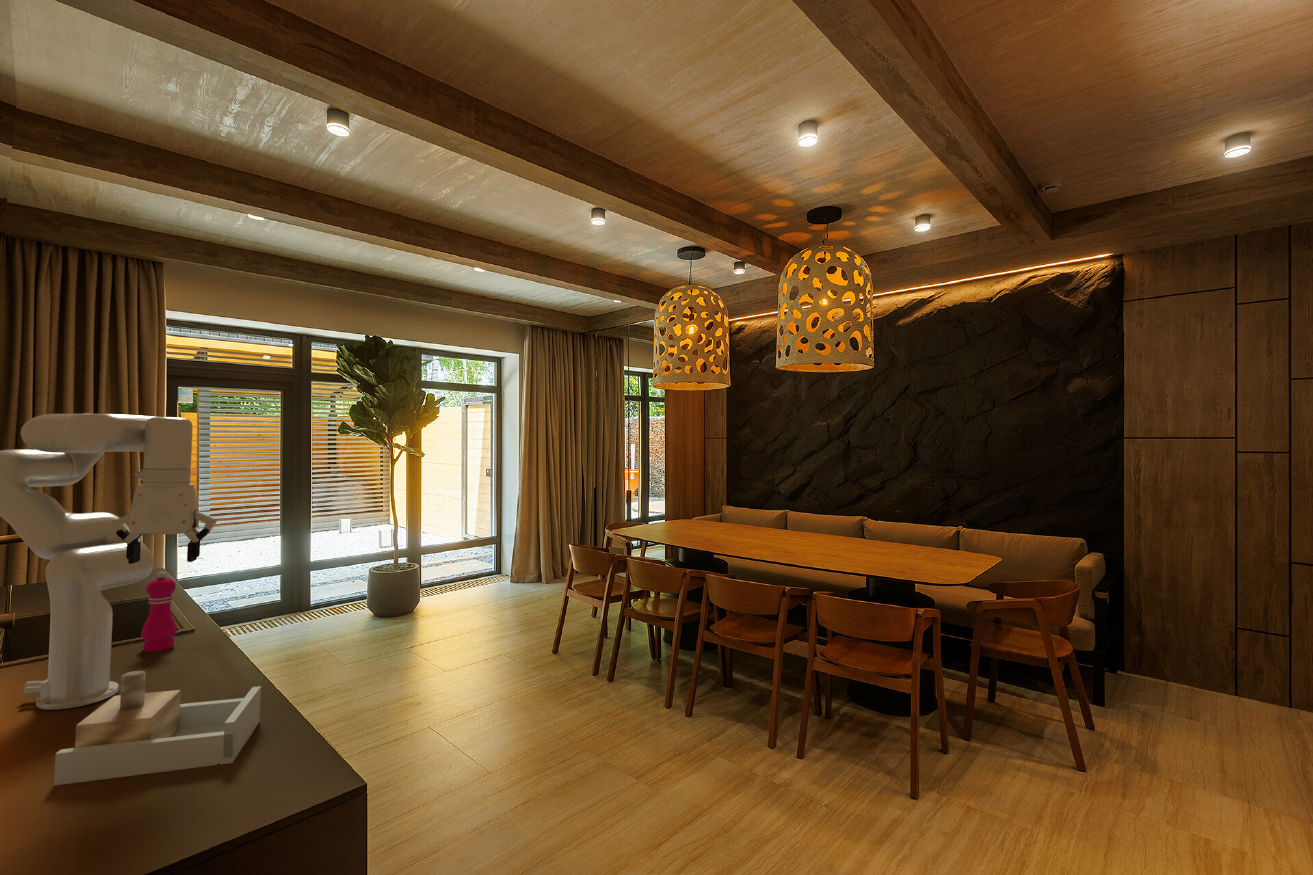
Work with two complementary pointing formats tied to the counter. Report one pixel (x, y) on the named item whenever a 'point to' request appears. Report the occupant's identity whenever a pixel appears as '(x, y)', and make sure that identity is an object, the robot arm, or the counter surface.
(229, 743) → the bay
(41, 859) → the counter surface
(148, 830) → the counter surface
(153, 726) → the wooden block with knob
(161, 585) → the pepper mill
